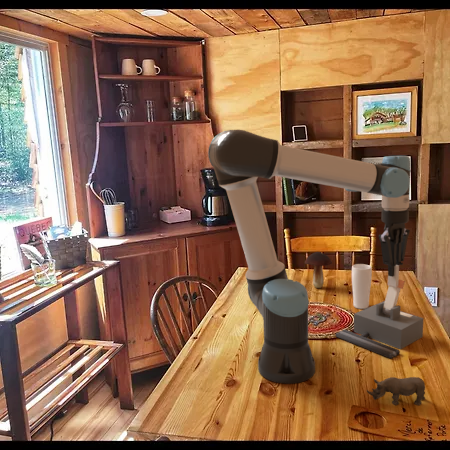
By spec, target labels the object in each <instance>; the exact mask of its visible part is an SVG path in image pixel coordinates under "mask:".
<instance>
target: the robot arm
mask: <svg viewBox="0 0 450 450" xmlns="http://www.w3.org/2000/svg"><path fill="white" fill-rule="evenodd" d="M207 153H208V154H207V156H208V160H209V162H210V165H211V166H212V168H213V170H214V173H215V176H216V179H217V183H218V186H219V187H221V188H222V189H224V190H225V191H226V194H227V197H228V200H229V204H230V208H231V211H232V215H233V218H234V221H235V225H236V226H235V227H236V229H237V232H238V235H239V239H240V243H241V246H242V249H243V252H244V256H245V260H246V264H247V267H248V269H247V271H246V272H245V274H244V275H245V279H246V282H247V292H248V297H249V299H250V301H251V302H252V304H253V305H254V306H255V308H256V309H257V310H258V312H259V314H260V315H261V317H262V319H263V344H262V346H261V351H260V355H259V357H258V361H257V369H258V372H259V374H260V375H261V376H262V377H264V378H265V379H266V380H268V381H271V382H274V383H279V384H289V385H290V384H298V383H299V384H300V383H302V382H305V381H307V380H309V379H311V378H312V377H313V376H314V375H315V373H316V361H315V358H314V356H313V353H312V349H311V346H310V344H309V303H310V302H309V301H310V300H309V296H308V293H309V292H308V290H307V287H306V286H305V285H303V284H302V283H301V282H299V281H296V280H295V281H294V280H293V279H290V278H289V277H288V273H287V271H286V266H285V263H283V262H281V261H279V260H278V257H277V253H276V251H275V246H274V242H273V240H272V236H271V232H270V227H269V225H268V221H267V217H266V214H265V209H264V206H263V202H262V199H261V195H260V192H259V187H258V183H257V181H258V178H263V179H267V180H271V179H272V178H273V177H280V178H285V179H291V180H298V181H303V182H308V183H312V184H319V185H324V186H330V187H336V188H341V189H344V190H345V191H347V192H355V193H357V192H362V193H367V194H371V195H378V196H381V208H382V209H381V222H383V223H384V228H383V233H382V234H379V235H378V239H379V242H380V248H381V250H380V251H381V257H382V263H383V265H387V283H388V285H387V286H388V287H389V286H393V287H398V282H399V280H400V266H403V264H404V263H403V262H404V261H405V256H406V250H407V244H408V239H409V235H410V232H411V231H410V229H407V228H406V224H407V223H408V222H409V221H410V218H409V214H410V212H409V209H408V208H409V207H410V187H411V186H410V185H411V159H410V157H409V156H408V155H388V156H383V158H382V162H380V163H371V162H367V161H366V162H365V161H361V160H357V159H356V160H355V159H351V158H346V157H342V156H338V155H337V156H336V155H331V154H328V153H323V152H322V153H321V152H316V151H312V150H306V149H302V148H296V147H292V146H287V145H282V144H280V141H279V140H277V139H273V138H269V137H266V136H262V135H259V134H255V133H254V132H253V133H252V132H250V131H247V130H244V129H229V130H228V129H227V130H224V131H222V132H220V133H219V132H218V134H217V135H215V136H214V137H213V138H212V140H211V142H210V144H209V147H208V151H207Z"/></svg>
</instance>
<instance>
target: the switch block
mask: <svg viewBox="0 0 450 450" xmlns="http://www.w3.org/2000/svg"><path fill="white" fill-rule="evenodd" d="M384 302H385V300H384V301H382V302H379V303H376V304H374V305H372V306H369V307H368V308H366V309H361V310H360V311H358V312H355V313H353V333H355V334H358V335H360V336H361V335H363V334H365V333H369V335H370V336H369V337H368V339H371V340H374V341H376V342H379V343H382V344H384V345H387V346H390V347H392V348H395V349H397V350H402V349H404V348H406V347H407V346H409V345H411V344H413V343H414V342H416V341H418V340H419V339H421V338H423V336H424V335H423V334H424V317H420V316H418V315H414V314H411V313H408V312H406V311H405V312H404V311H402V310H401V308H402V307H401V305H399V304H398V305H396V306H395V307H393V308H391V312H390V315H387V314H384V313H382V309H383V306H384Z"/></svg>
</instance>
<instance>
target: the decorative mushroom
mask: <svg viewBox="0 0 450 450" xmlns="http://www.w3.org/2000/svg"><path fill="white" fill-rule="evenodd" d="M304 264H305V265H310V266H314V267H313V274H312V286H313V287H314V288H316V289H321V288H322V287H323V286H324V279H325V278H324V269H323V266H324V267H325V266H330V265H332V264H333V261H332V259H331V258H330V257H329V256H328V255H326V253H323V252H320V251H316V252H313V253H311V254H309V256H307V257H306V259H305V261H304Z"/></svg>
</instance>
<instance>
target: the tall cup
mask: <svg viewBox="0 0 450 450" xmlns="http://www.w3.org/2000/svg"><path fill="white" fill-rule="evenodd" d="M372 274H373V273H372V266H371V265H370V264H369V265H368V264H364V263H355V264H353V265H352V266H351V287H352V300H353V302H352V306H353V307H354V308H356V309H359V310H364V309H366V308H369V307H370V295H371V294H370V293H371V286H372V278H373V277H372Z"/></svg>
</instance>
